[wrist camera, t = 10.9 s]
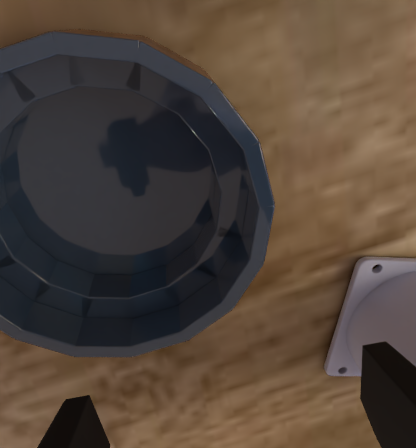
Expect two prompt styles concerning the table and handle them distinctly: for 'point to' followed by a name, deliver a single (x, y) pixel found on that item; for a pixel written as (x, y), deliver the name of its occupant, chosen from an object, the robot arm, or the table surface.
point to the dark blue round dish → (122, 195)
